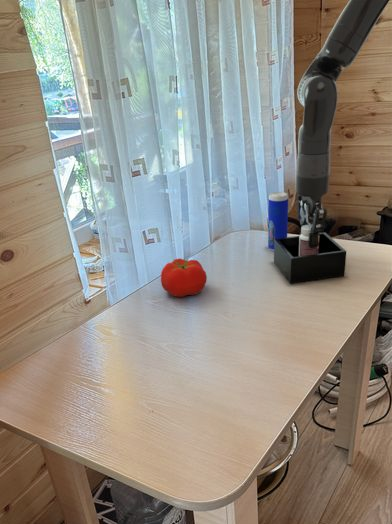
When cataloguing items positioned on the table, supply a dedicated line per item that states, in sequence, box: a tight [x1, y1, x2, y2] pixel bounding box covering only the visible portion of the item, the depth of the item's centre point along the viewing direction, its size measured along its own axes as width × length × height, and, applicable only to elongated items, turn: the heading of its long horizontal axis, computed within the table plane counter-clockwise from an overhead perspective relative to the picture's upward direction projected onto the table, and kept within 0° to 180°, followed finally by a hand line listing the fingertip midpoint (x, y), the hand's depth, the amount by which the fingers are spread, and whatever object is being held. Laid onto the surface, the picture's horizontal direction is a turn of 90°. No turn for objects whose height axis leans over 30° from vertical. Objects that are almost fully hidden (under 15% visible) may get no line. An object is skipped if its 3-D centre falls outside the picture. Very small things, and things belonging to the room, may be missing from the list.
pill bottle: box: [298, 225, 319, 256], centre depth 126 cm, size 5×5×8 cm
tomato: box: [160, 258, 208, 298], centre depth 122 cm, size 11×11×8 cm
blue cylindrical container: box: [267, 191, 289, 252], centre depth 139 cm, size 5×5×15 cm
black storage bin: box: [273, 231, 347, 285], centre depth 128 cm, size 14×14×7 cm
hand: (309, 242), depth 126 cm, fingers closed on pill bottle, 4 cm apart
